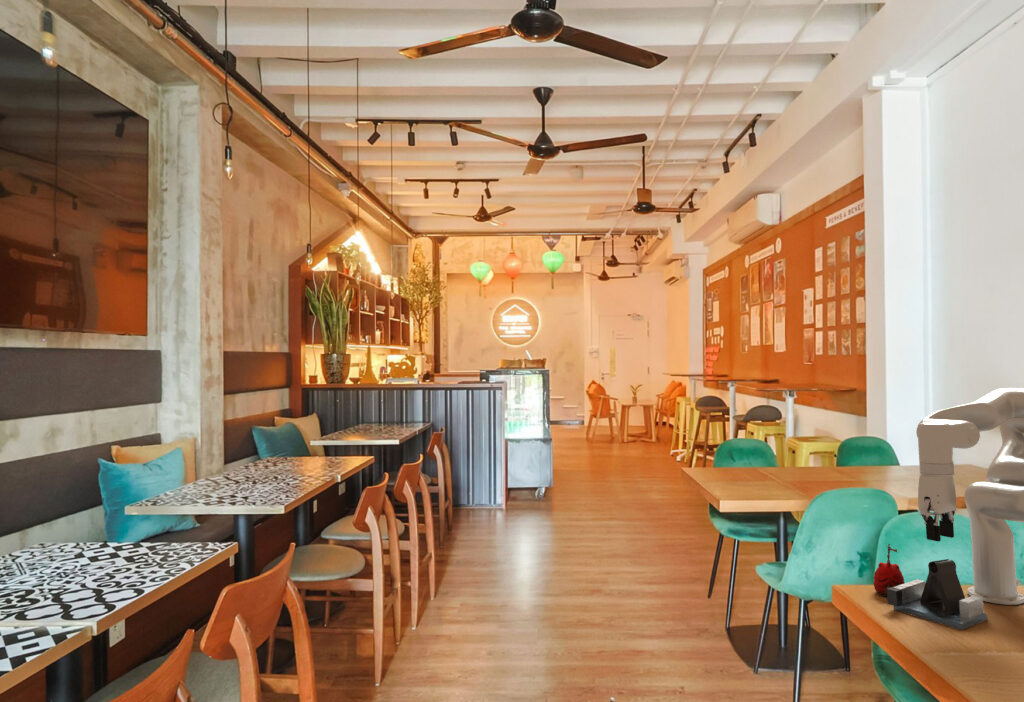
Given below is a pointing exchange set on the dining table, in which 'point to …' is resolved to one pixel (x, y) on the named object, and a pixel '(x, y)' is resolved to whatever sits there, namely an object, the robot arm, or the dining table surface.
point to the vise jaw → (905, 592)
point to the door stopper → (943, 587)
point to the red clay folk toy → (887, 575)
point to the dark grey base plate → (966, 618)
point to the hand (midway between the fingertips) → (940, 537)
